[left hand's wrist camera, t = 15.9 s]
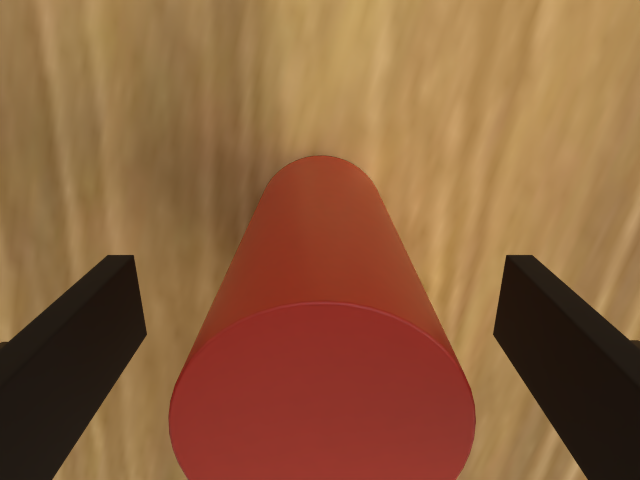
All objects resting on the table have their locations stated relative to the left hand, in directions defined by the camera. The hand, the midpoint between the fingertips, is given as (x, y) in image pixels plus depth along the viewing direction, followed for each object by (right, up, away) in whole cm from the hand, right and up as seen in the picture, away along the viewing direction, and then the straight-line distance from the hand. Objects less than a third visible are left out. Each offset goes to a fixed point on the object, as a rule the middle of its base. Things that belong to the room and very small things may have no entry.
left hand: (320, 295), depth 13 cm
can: (0, +3, +7) cm, 7 cm away
